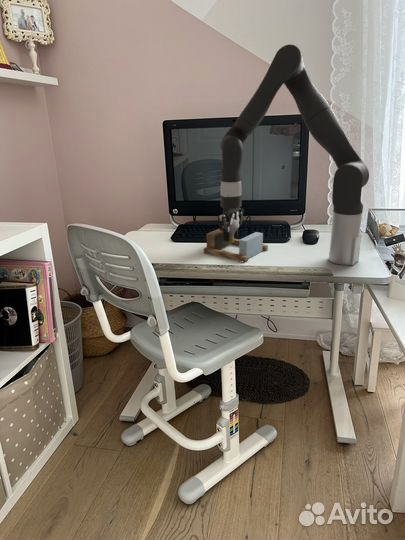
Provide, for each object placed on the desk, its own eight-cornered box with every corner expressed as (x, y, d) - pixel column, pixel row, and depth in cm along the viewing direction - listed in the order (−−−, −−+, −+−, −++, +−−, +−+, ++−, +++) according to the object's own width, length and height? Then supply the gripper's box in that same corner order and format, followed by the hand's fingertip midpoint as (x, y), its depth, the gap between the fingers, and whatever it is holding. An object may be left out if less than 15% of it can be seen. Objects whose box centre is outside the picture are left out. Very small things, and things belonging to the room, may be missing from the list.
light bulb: (220, 244, 160) (220, 218, 156) (229, 240, 164) (229, 215, 160) (232, 246, 156) (232, 220, 153) (240, 243, 160) (241, 217, 157)
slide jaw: (262, 250, 159) (262, 233, 157) (246, 259, 151) (246, 241, 148) (254, 249, 161) (254, 231, 159) (238, 257, 153) (238, 239, 150)
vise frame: (267, 250, 160) (268, 232, 158) (245, 262, 148) (245, 243, 146) (227, 242, 170) (227, 225, 168) (203, 253, 159) (203, 235, 156)
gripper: (233, 189, 160) (232, 232, 167) (210, 196, 150) (211, 242, 156) (250, 191, 156) (249, 235, 162) (228, 198, 146) (228, 245, 152)
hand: (230, 238), depth 159 cm, fingers closed on light bulb, 5 cm apart
